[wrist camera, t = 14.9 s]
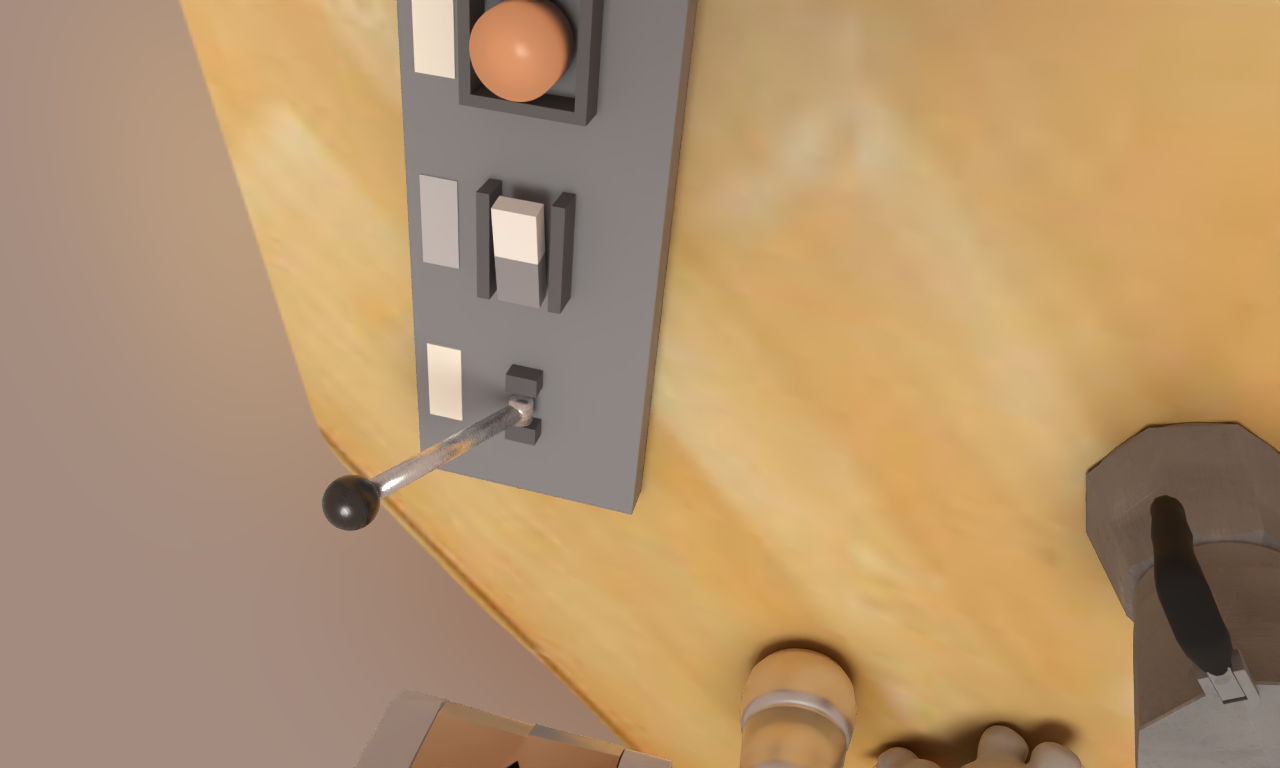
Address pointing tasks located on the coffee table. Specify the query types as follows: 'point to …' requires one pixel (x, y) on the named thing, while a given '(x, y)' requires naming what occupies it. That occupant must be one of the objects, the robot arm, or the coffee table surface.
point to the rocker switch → (519, 251)
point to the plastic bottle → (796, 712)
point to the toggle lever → (415, 467)
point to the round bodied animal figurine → (992, 754)
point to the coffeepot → (1196, 589)
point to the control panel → (574, 240)
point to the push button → (521, 48)
